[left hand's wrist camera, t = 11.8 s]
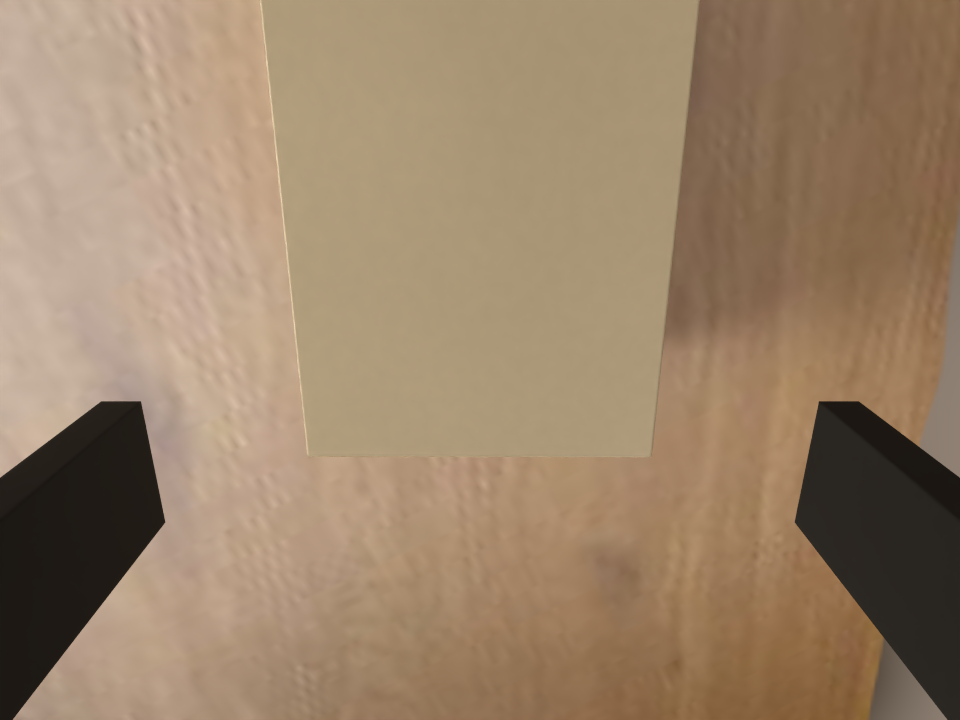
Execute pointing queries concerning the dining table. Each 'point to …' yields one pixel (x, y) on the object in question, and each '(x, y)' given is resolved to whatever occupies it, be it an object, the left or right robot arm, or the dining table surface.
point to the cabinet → (479, 219)
